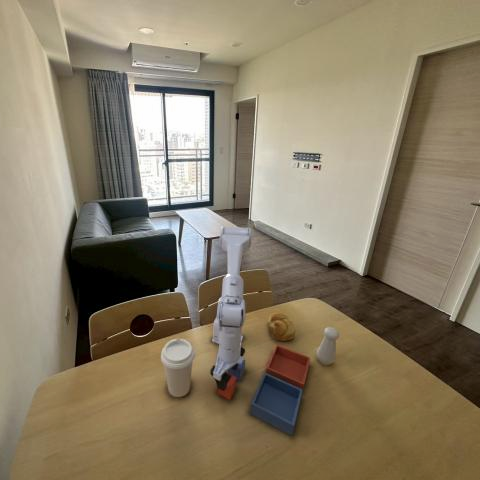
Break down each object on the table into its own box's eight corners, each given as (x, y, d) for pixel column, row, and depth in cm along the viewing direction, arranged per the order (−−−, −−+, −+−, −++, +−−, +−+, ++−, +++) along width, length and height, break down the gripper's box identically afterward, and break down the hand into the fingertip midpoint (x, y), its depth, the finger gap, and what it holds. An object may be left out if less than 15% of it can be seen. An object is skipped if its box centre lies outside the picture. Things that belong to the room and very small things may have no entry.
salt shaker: (330, 354, 88) (338, 325, 83) (336, 368, 82) (345, 337, 78) (313, 353, 88) (320, 323, 83) (318, 366, 83) (326, 336, 78)
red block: (217, 393, 74) (218, 381, 72) (223, 382, 77) (224, 371, 75) (229, 400, 72) (230, 387, 70) (235, 389, 75) (236, 377, 73)
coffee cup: (199, 378, 78) (199, 341, 73) (187, 407, 70) (186, 367, 64) (172, 369, 81) (170, 333, 76) (157, 396, 73) (153, 357, 67)
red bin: (265, 377, 79) (266, 368, 78) (274, 352, 88) (276, 344, 87) (301, 394, 74) (304, 384, 73) (308, 366, 83) (310, 357, 82)
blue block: (227, 375, 80) (228, 363, 78) (233, 366, 83) (233, 355, 81) (239, 381, 78) (240, 369, 76) (244, 371, 81) (245, 360, 79)
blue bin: (250, 413, 69) (251, 403, 67) (263, 381, 78) (264, 372, 76) (292, 436, 64) (294, 426, 62) (300, 399, 73) (302, 389, 71)
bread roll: (263, 320, 104) (265, 304, 101) (286, 320, 104) (288, 304, 101) (271, 344, 92) (274, 327, 89) (297, 343, 92) (301, 326, 89)
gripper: (232, 367, 60) (229, 406, 65) (253, 330, 71) (249, 366, 76) (206, 355, 63) (205, 393, 68) (230, 322, 75) (228, 356, 80)
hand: (227, 378), depth 72 cm, fingers open, 7 cm apart
